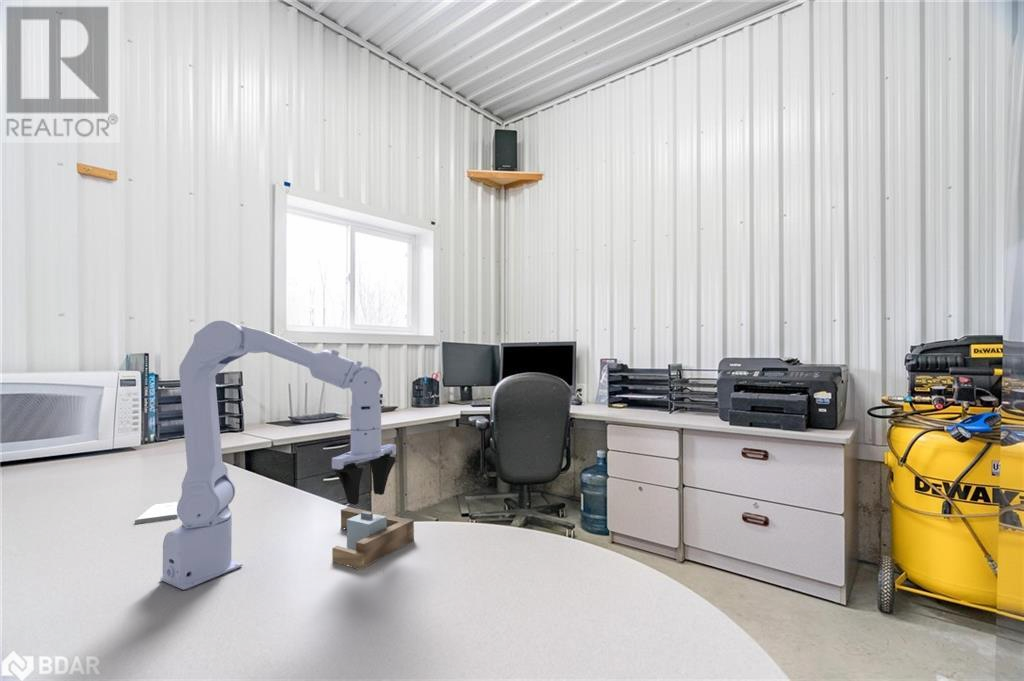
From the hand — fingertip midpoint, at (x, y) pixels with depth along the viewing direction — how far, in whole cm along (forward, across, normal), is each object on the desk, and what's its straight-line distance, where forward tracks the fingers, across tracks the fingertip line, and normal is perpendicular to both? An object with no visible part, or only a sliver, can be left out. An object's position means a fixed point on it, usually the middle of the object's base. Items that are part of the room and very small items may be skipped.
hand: (366, 498), depth 86 cm
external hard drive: (+11, -7, +63) cm, 64 cm away
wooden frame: (+10, 0, +4) cm, 10 cm away
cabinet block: (+10, 0, 0) cm, 10 cm away
